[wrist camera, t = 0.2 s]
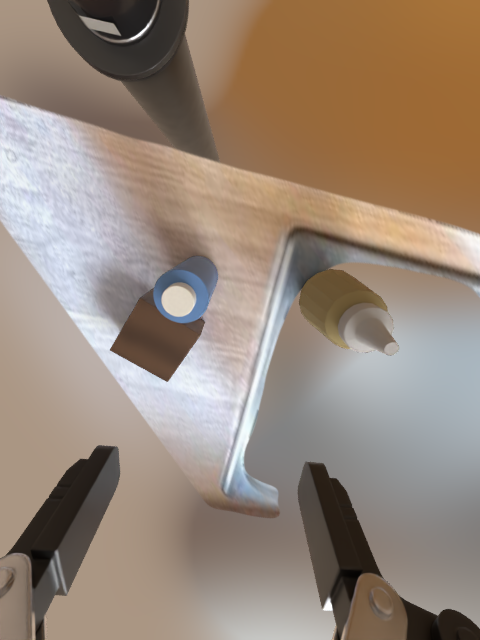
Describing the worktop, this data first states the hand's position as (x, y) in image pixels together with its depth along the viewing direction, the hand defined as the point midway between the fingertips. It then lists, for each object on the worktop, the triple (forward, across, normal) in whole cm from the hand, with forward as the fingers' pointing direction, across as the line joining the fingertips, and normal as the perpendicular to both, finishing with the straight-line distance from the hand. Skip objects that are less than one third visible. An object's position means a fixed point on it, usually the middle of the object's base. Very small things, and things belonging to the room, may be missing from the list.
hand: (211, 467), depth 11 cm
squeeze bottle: (+28, -13, -2) cm, 31 cm away
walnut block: (+28, +10, +6) cm, 30 cm away
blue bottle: (+28, +5, -3) cm, 28 cm away
